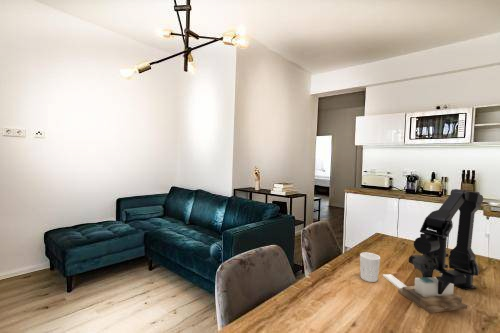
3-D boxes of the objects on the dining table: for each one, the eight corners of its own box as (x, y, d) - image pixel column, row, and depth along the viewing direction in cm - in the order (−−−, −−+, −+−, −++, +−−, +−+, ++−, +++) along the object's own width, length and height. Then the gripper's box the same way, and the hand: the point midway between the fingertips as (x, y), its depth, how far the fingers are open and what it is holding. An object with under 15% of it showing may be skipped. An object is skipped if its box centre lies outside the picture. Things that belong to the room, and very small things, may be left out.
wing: (391, 277, 117) (391, 274, 117) (409, 291, 106) (409, 288, 105) (382, 277, 117) (382, 274, 117) (399, 291, 105) (399, 288, 105)
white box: (442, 289, 102) (443, 275, 101) (453, 295, 97) (454, 281, 97) (414, 290, 100) (415, 276, 100) (423, 297, 96) (424, 282, 95)
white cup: (367, 283, 109) (368, 260, 109) (355, 275, 117) (356, 252, 116) (383, 282, 111) (384, 258, 111) (370, 273, 119) (371, 251, 118)
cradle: (431, 288, 107) (431, 281, 107) (466, 308, 93) (467, 300, 93) (398, 291, 103) (398, 284, 103) (430, 313, 90) (430, 304, 90)
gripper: (398, 242, 105) (396, 280, 106) (442, 260, 87) (439, 307, 88) (421, 240, 108) (419, 278, 108) (469, 258, 89) (465, 303, 90)
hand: (433, 290), depth 99 cm, fingers closed on white box, 5 cm apart
